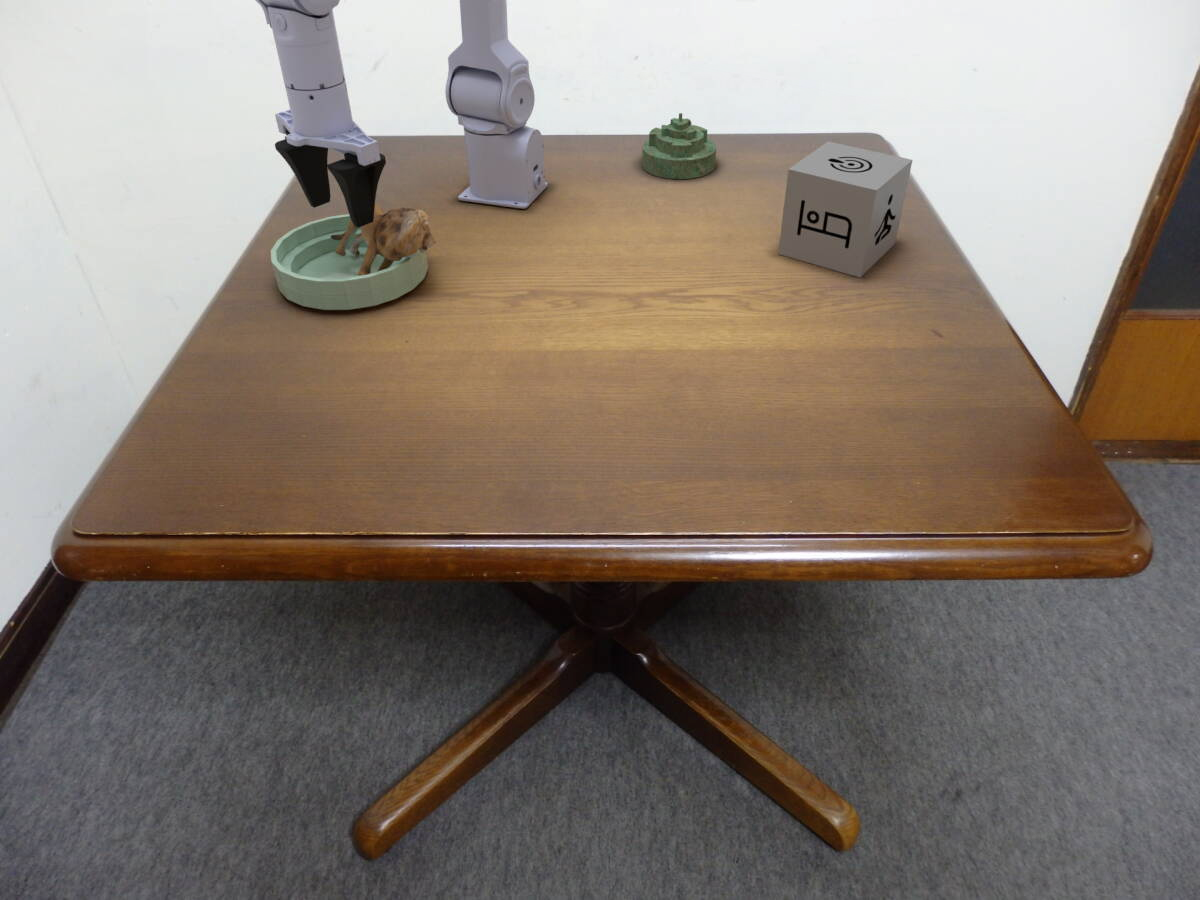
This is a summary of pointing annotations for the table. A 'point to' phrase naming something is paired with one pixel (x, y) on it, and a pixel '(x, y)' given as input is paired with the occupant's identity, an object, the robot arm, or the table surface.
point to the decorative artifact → (678, 151)
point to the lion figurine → (388, 237)
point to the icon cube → (843, 207)
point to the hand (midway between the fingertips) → (341, 213)
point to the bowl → (338, 269)
